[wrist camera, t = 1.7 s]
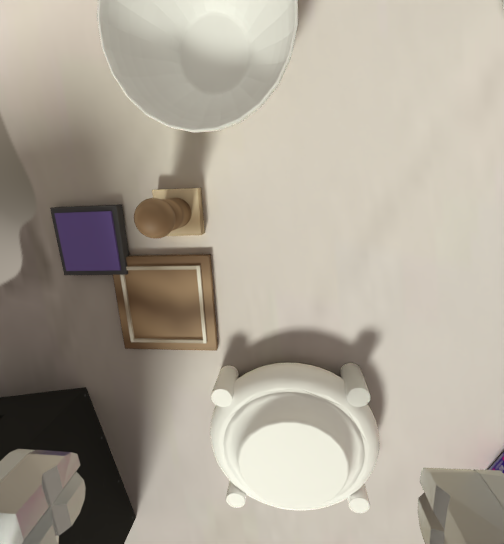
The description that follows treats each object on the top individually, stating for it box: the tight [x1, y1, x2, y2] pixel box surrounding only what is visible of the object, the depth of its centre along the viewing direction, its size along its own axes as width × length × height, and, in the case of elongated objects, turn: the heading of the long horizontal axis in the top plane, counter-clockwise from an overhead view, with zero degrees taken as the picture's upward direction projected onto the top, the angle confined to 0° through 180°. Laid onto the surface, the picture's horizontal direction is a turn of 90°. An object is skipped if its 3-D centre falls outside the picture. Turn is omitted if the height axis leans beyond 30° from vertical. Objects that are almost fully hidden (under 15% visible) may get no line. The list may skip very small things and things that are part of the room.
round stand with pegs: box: [210, 363, 379, 513], centre depth 39 cm, size 24×24×7 cm
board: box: [113, 254, 218, 350], centre depth 38 cm, size 12×12×1 cm
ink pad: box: [50, 205, 129, 275], centre depth 37 cm, size 8×8×2 cm
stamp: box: [134, 188, 205, 238], centre depth 31 cm, size 5×5×9 cm
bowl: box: [97, 0, 298, 133], centre depth 28 cm, size 16×16×7 cm
